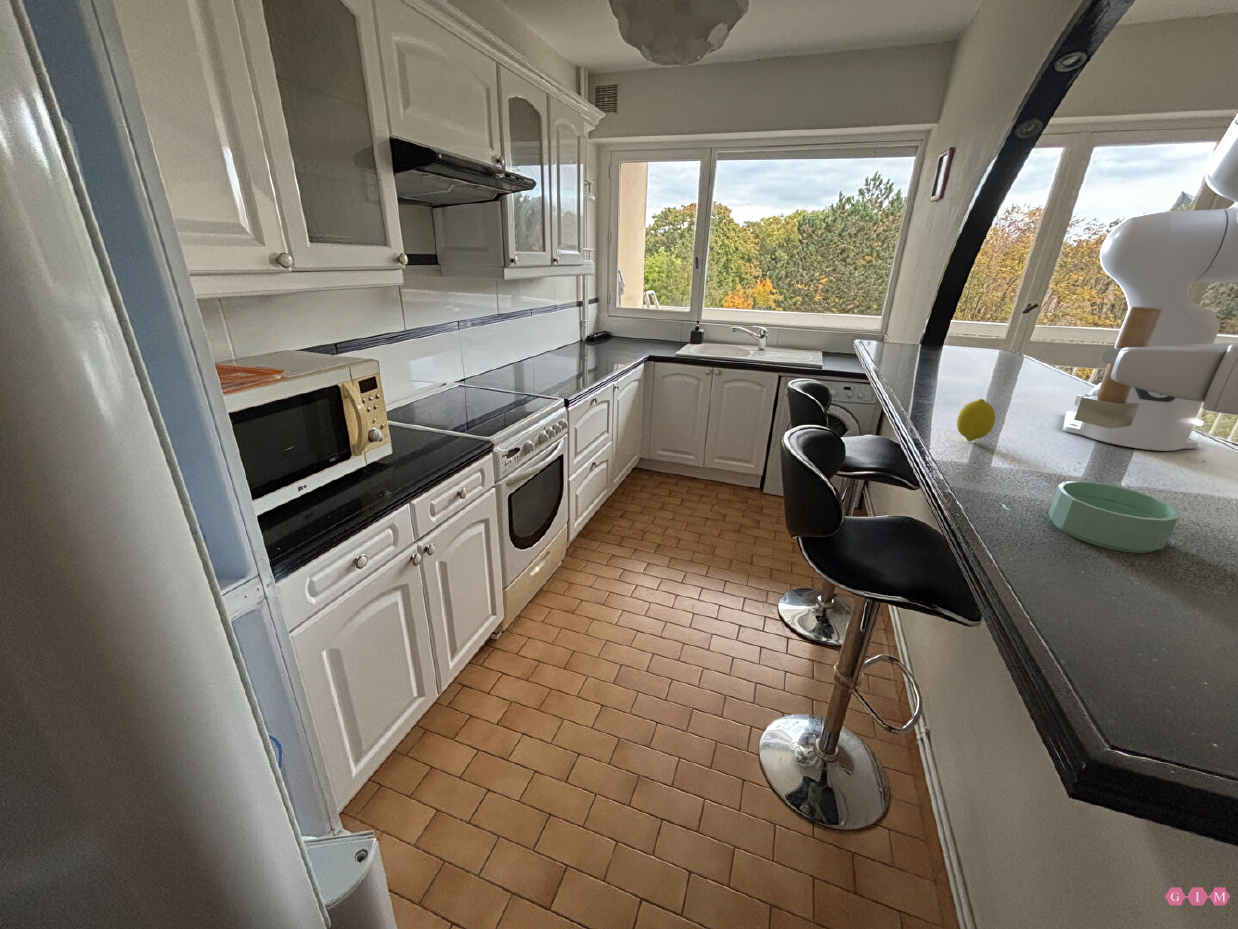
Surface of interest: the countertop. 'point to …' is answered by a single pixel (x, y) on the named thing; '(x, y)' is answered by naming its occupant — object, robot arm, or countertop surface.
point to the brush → (1112, 396)
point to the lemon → (976, 420)
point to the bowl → (1113, 516)
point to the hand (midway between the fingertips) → (1118, 353)
